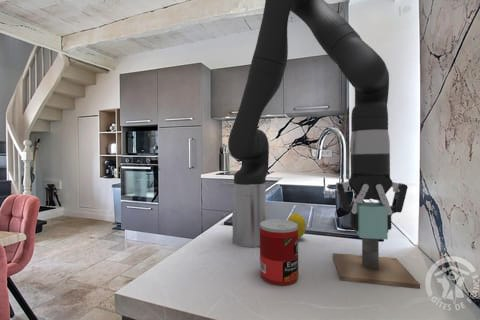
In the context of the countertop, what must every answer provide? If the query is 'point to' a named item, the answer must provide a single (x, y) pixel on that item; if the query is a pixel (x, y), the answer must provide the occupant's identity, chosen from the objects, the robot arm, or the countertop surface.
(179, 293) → the countertop surface
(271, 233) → the canned food
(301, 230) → the lemon
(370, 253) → the stand
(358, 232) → the mint foam cube
